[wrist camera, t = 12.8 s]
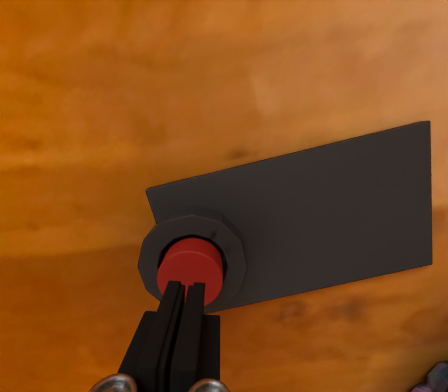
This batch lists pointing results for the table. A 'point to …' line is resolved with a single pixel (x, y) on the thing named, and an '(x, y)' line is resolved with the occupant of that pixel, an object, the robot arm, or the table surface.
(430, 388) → the decorative bowl
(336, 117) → the table surface
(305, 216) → the control box
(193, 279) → the button
